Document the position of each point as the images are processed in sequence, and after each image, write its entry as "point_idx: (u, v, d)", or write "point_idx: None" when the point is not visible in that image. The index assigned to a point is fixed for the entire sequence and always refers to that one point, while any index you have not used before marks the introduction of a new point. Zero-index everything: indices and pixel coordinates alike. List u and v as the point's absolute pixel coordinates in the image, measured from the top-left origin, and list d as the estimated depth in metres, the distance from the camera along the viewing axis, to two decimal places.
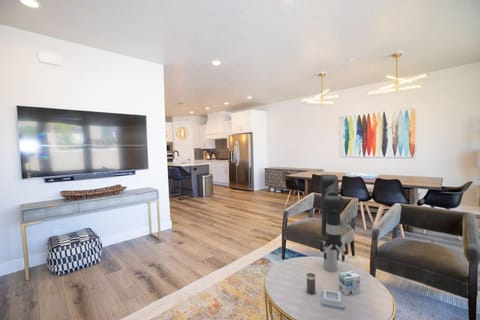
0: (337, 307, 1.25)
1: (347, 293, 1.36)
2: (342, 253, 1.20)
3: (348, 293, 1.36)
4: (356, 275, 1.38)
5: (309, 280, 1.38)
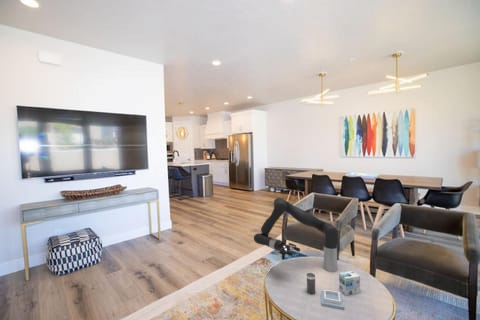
0: (337, 307, 1.25)
1: (347, 293, 1.36)
2: (286, 253, 1.48)
3: (348, 293, 1.36)
4: (356, 275, 1.38)
5: (309, 280, 1.38)
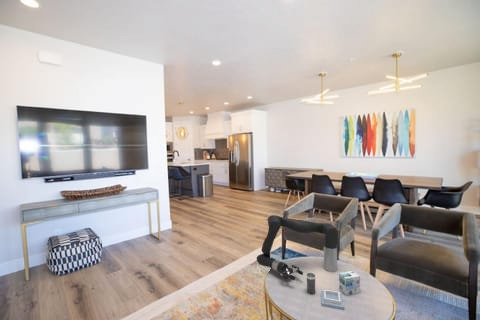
0: (337, 307, 1.25)
1: (347, 293, 1.36)
2: None
3: (348, 293, 1.36)
4: (356, 275, 1.38)
5: (309, 280, 1.38)
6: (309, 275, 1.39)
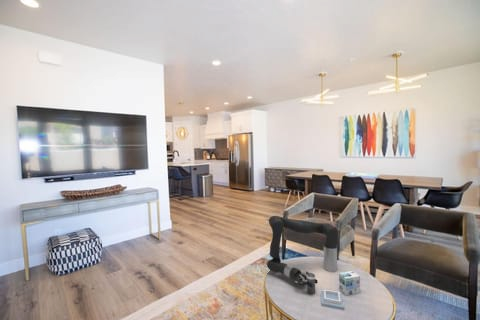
0: (337, 307, 1.25)
1: (347, 293, 1.36)
2: None
3: (348, 293, 1.36)
4: (356, 275, 1.38)
5: (309, 280, 1.38)
6: (309, 275, 1.39)
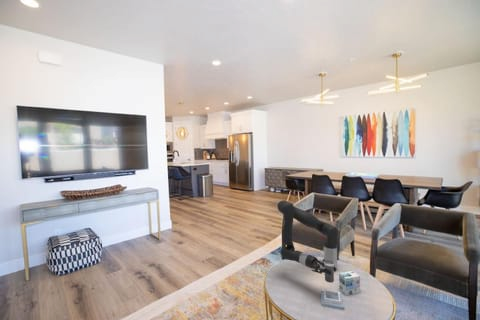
0: (337, 307, 1.25)
1: (347, 293, 1.36)
2: None
3: (348, 293, 1.36)
4: (356, 275, 1.38)
5: (328, 267, 1.29)
6: (327, 262, 1.31)
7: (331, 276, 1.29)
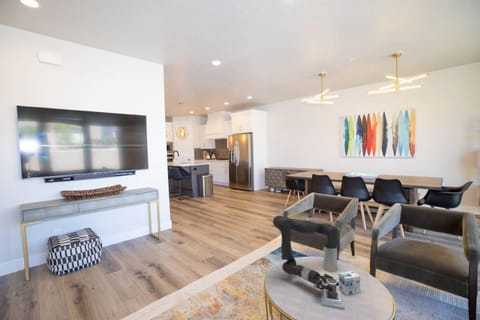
0: (337, 307, 1.25)
1: (347, 293, 1.36)
2: None
3: (348, 293, 1.36)
4: (356, 275, 1.38)
5: (330, 285, 1.29)
6: (330, 280, 1.31)
7: (334, 295, 1.29)
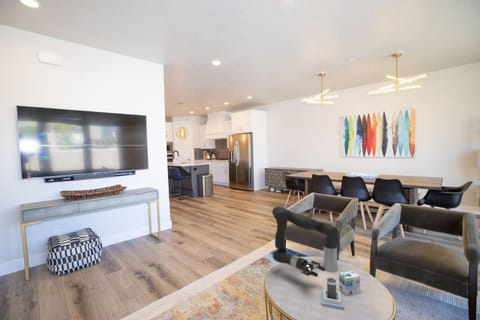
0: (337, 307, 1.25)
1: (347, 293, 1.36)
2: None
3: (348, 293, 1.36)
4: (356, 275, 1.38)
5: (330, 285, 1.29)
6: (330, 280, 1.31)
7: (334, 295, 1.29)
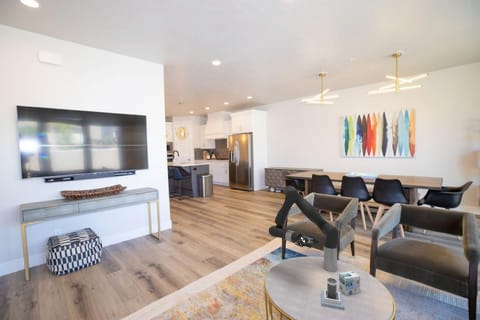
0: (337, 307, 1.25)
1: (347, 293, 1.36)
2: (304, 245, 1.42)
3: (348, 293, 1.36)
4: (356, 275, 1.38)
5: (330, 285, 1.29)
6: (330, 280, 1.31)
7: (334, 295, 1.29)
